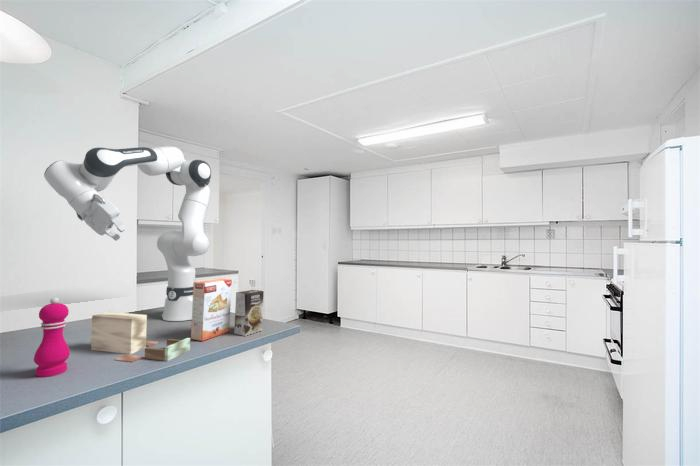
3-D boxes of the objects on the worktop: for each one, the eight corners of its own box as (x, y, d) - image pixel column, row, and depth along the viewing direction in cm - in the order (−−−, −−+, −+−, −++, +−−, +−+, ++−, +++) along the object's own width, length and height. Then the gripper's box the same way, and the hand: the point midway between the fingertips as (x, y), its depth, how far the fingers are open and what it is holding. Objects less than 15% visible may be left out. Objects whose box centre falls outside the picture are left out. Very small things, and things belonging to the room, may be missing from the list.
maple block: (107, 344, 113) (109, 311, 114) (145, 348, 110) (146, 314, 111) (90, 349, 107) (92, 315, 108) (130, 354, 104) (131, 319, 105)
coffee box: (245, 336, 126) (246, 293, 126) (233, 333, 129) (235, 291, 129) (263, 331, 134) (264, 290, 134) (251, 328, 137) (252, 289, 137)
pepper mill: (67, 374, 89) (70, 298, 89) (30, 380, 84) (33, 301, 85) (70, 365, 94) (73, 294, 95) (35, 370, 90) (38, 296, 91)
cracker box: (202, 342, 118) (204, 282, 118) (190, 339, 120) (192, 281, 121) (230, 332, 131) (232, 278, 131) (218, 330, 133) (220, 277, 134)
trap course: (143, 341, 117) (144, 329, 117) (196, 346, 113) (197, 334, 113) (98, 358, 100) (98, 344, 100) (158, 365, 96) (159, 351, 96)
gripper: (103, 187, 109) (135, 219, 112) (94, 210, 123) (123, 238, 126) (84, 196, 105) (118, 230, 108) (77, 219, 119) (107, 248, 122)
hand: (120, 235), depth 117 cm, fingers open, 8 cm apart
